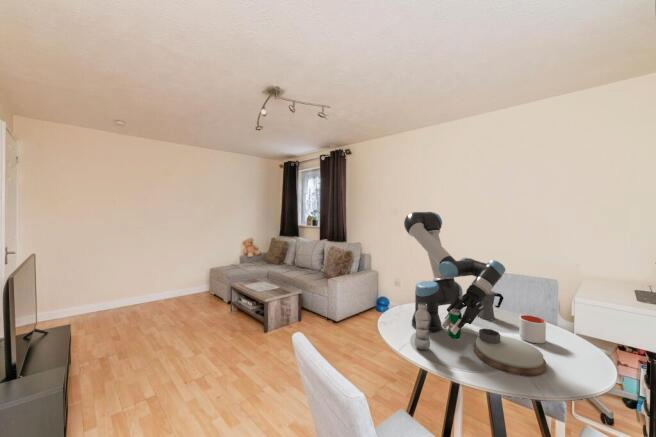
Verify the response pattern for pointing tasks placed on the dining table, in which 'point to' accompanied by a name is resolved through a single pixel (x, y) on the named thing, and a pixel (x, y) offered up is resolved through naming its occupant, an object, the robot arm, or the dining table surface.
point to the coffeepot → (489, 306)
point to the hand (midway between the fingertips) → (447, 329)
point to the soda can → (453, 318)
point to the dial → (508, 350)
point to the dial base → (511, 369)
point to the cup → (532, 329)
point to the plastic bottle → (422, 327)
